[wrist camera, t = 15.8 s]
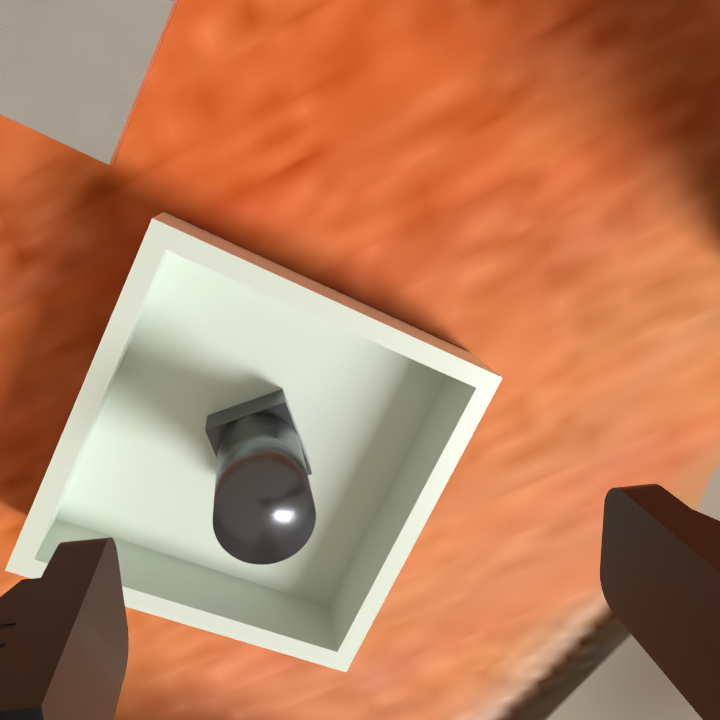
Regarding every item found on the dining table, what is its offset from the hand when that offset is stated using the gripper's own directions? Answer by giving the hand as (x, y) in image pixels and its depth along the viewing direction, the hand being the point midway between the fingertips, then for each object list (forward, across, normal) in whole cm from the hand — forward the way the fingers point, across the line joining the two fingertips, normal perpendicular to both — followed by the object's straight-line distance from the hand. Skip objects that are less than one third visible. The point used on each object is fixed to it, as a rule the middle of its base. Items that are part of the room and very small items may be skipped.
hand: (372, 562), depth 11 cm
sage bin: (+26, +2, +8) cm, 27 cm away
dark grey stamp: (+25, +2, +7) cm, 26 cm away
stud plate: (+26, +11, -15) cm, 32 cm away
